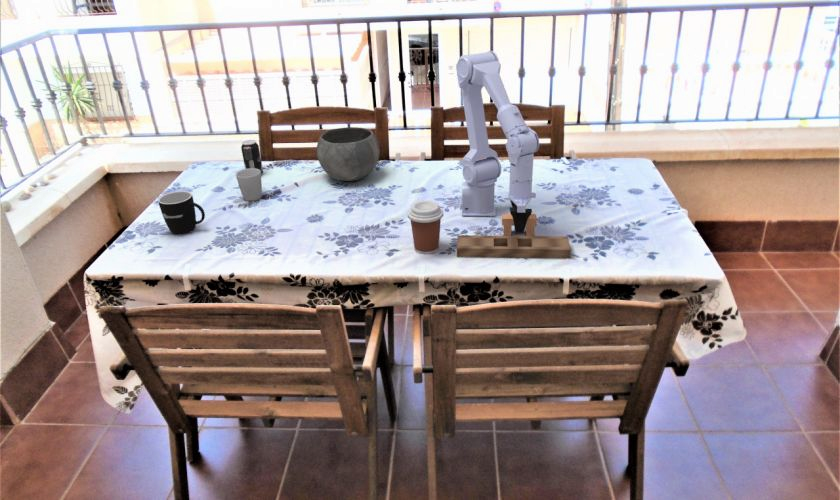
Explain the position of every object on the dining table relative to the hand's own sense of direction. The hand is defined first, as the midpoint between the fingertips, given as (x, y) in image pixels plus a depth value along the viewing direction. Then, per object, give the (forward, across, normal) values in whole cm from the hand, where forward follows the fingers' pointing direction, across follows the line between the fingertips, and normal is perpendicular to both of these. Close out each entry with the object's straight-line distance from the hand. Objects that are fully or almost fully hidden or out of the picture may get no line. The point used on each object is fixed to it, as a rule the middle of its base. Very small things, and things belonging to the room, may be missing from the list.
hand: (518, 225), depth 160 cm
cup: (+2, +24, +82) cm, 85 cm away
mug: (+2, 0, +93) cm, 93 cm away
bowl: (+2, +40, +54) cm, 67 cm away
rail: (+2, -10, +2) cm, 10 cm away
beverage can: (+2, +42, +88) cm, 98 cm away
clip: (+2, 0, 0) cm, 2 cm away
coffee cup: (+2, -9, +24) cm, 26 cm away
